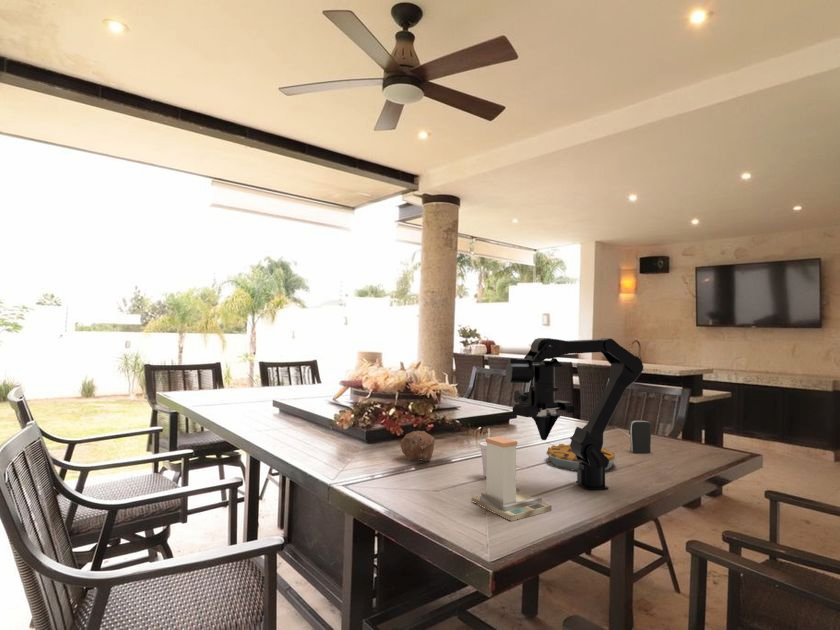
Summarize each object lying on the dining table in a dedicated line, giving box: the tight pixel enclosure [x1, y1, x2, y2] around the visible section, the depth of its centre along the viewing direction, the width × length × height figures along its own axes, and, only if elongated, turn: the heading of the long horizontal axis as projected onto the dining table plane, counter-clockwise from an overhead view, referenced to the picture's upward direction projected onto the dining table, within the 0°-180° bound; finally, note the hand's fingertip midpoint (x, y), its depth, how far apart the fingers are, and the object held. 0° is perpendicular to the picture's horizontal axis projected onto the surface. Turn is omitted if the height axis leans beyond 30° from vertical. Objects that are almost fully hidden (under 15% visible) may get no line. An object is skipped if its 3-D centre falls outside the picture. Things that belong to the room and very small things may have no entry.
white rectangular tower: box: [485, 435, 518, 506], centre depth 113 cm, size 4×6×15 cm
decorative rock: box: [400, 430, 436, 461], centre depth 157 cm, size 13×11×10 cm
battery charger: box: [628, 419, 652, 454], centre depth 172 cm, size 7×4×11 cm, turn 91°
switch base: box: [471, 487, 552, 522], centre depth 115 cm, size 13×14×3 cm
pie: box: [546, 443, 617, 471], centre depth 155 cm, size 22×22×5 cm
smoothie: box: [479, 428, 491, 477], centre depth 139 cm, size 6×6×14 cm
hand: (543, 439), depth 130 cm, fingers closed
